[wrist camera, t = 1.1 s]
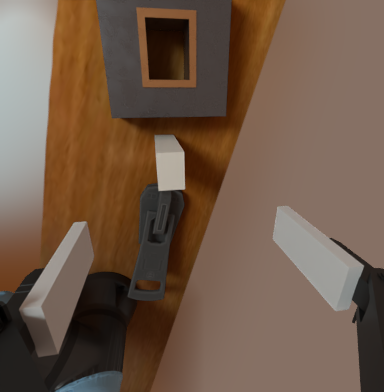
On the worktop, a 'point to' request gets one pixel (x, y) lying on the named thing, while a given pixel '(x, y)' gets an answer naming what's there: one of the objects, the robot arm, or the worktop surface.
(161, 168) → the white rectangular bar
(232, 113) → the worktop surface
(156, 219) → the zipper slider
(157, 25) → the block
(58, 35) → the worktop surface
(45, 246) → the worktop surface
